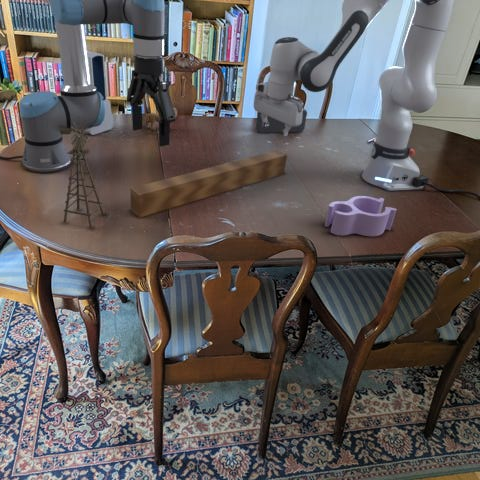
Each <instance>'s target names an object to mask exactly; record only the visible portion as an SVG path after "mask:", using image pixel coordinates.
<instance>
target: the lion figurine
mask: <svg viewBox="0 0 480 480" xmlns="http://www.w3.org/2000/svg"><path fill="white" fill-rule="evenodd" d="M173 110H174V115H175V119H176V120H177V117H178V109H177V108H176V107H173ZM159 121H161V119H160V117H159V114H158V113H155V112H150V113H149V114H147V116H146V118H145V123H144V125H142V126H143V129H145V128H148V129H150V128H151V130H152V131H156V128H155V127H154V125H155V122H156V123H158V124H159ZM172 123H173V122H170V124H172ZM149 124H150V125H149Z"/></svg>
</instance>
